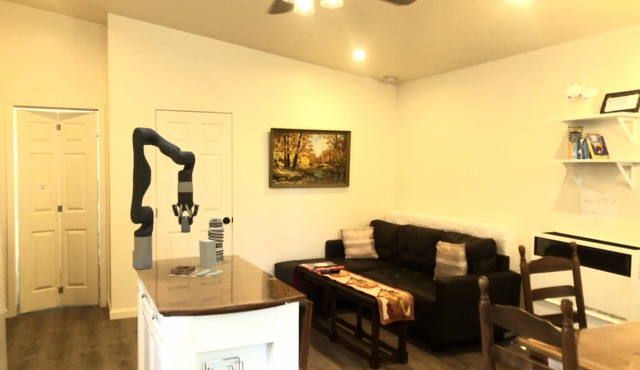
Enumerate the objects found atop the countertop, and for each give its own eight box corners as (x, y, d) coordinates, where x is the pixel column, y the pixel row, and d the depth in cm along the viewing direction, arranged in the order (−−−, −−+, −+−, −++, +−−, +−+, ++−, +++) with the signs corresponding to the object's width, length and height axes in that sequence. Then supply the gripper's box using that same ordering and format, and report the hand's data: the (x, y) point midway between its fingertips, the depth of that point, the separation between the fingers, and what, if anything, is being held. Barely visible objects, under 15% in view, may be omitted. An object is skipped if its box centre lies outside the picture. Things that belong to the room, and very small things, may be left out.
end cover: (179, 232, 239) (179, 216, 239) (183, 231, 243) (183, 215, 243) (188, 232, 238) (188, 216, 238) (191, 231, 243) (191, 215, 243)
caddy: (165, 277, 236) (165, 270, 236) (177, 271, 250) (177, 264, 250) (214, 279, 233) (214, 272, 233) (224, 272, 247) (223, 266, 247)
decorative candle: (227, 261, 274) (227, 218, 273) (216, 264, 266) (215, 220, 265) (216, 260, 279) (215, 217, 278) (204, 262, 271) (204, 219, 270)
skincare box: (216, 267, 259) (216, 240, 258) (206, 269, 255) (206, 241, 254) (208, 265, 265) (208, 238, 264) (198, 266, 261) (198, 239, 260)
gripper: (168, 191, 237) (169, 225, 238) (196, 191, 235) (196, 225, 236) (175, 190, 245) (175, 223, 245) (201, 190, 243) (202, 224, 244)
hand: (185, 224), depth 241 cm, fingers closed on end cover, 4 cm apart
